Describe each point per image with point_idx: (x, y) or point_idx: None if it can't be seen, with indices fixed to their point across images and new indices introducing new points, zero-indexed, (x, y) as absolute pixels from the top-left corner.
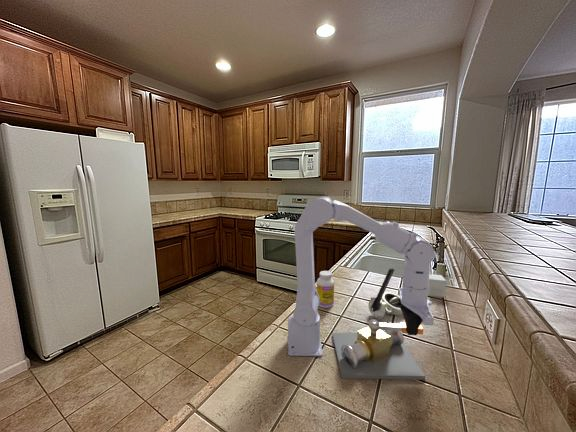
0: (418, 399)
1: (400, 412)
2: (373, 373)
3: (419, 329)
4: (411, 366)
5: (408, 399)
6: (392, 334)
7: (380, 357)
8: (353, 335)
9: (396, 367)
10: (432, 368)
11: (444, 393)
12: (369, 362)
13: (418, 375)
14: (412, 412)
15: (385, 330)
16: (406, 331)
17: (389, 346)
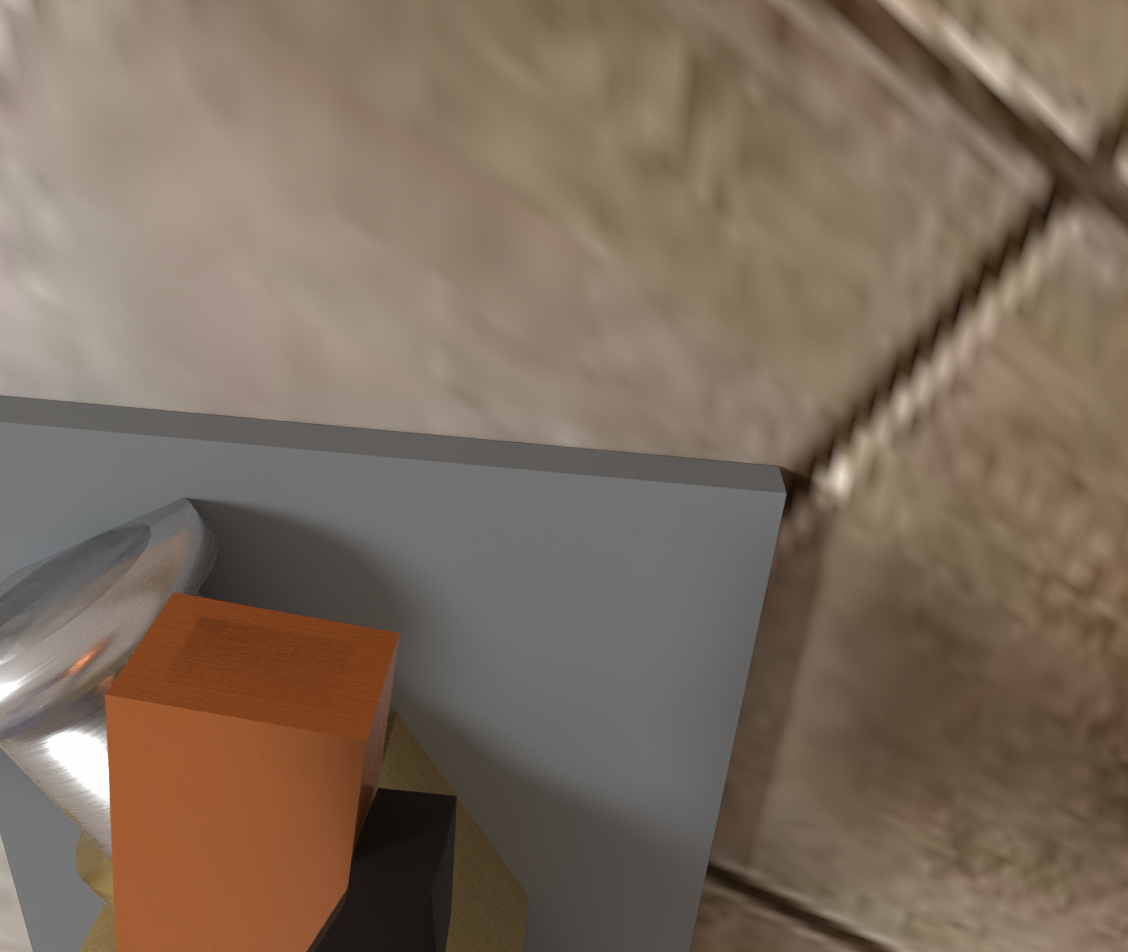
0: (997, 666)
1: (1066, 855)
2: (670, 941)
3: (359, 790)
4: (612, 569)
5: (970, 746)
6: None
7: (472, 843)
8: (74, 926)
9: (612, 729)
10: (606, 249)
11: (1011, 360)
12: None
13: (762, 564)
14: (1099, 776)
15: (52, 800)
16: None
17: None
